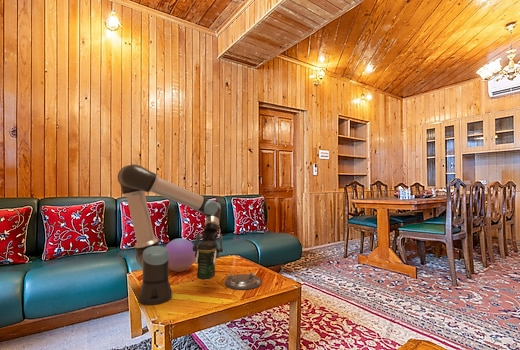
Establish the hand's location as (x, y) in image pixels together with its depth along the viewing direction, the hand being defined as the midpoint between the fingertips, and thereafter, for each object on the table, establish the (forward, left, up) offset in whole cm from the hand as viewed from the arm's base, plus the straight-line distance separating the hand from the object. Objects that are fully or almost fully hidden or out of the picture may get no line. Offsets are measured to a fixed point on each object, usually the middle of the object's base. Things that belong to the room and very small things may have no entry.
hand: (205, 263), depth 144 cm
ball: (-36, +18, -15) cm, 43 cm away
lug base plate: (+9, +21, -15) cm, 27 cm away
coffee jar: (-2, +3, -9) cm, 9 cm away
